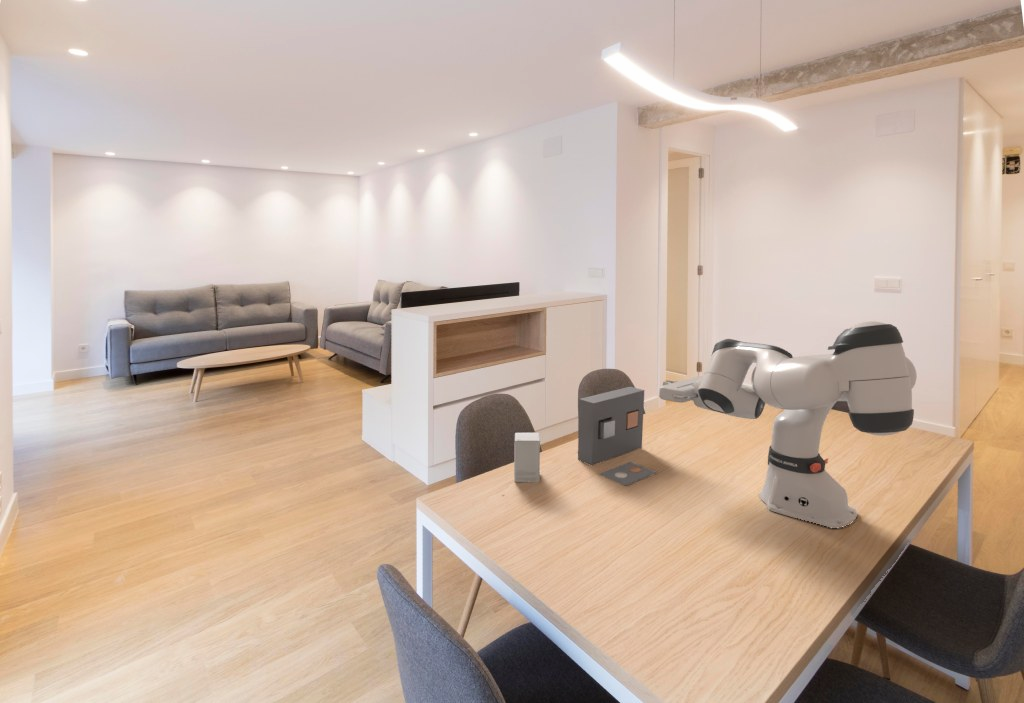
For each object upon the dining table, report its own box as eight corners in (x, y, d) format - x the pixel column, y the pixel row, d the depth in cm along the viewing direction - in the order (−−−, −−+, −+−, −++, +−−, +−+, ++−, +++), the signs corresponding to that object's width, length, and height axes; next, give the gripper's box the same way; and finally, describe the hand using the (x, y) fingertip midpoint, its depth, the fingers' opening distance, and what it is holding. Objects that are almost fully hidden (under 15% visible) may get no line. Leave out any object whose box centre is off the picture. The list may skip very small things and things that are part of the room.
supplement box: (539, 482, 158) (540, 440, 155) (514, 482, 158) (514, 440, 155) (539, 472, 165) (539, 432, 162) (514, 471, 165) (514, 431, 162)
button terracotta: (637, 425, 180) (638, 411, 179) (627, 428, 177) (628, 414, 176) (630, 423, 183) (631, 408, 182) (620, 426, 179) (620, 411, 179)
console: (641, 447, 184) (644, 390, 180) (591, 465, 169) (593, 403, 165) (627, 442, 188) (630, 386, 185) (577, 459, 174) (579, 398, 170)
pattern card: (656, 473, 164) (656, 471, 164) (625, 486, 155) (625, 484, 155) (630, 462, 171) (630, 461, 171) (599, 474, 163) (599, 472, 163)
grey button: (614, 435, 171) (615, 420, 170) (603, 439, 168) (604, 423, 167) (607, 432, 173) (607, 417, 172) (596, 436, 170) (596, 420, 169)
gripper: (684, 411, 148) (643, 399, 159) (725, 397, 161) (684, 388, 171) (685, 388, 147) (644, 378, 158) (727, 376, 159) (686, 368, 170)
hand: (665, 383), depth 165 cm, fingers closed
